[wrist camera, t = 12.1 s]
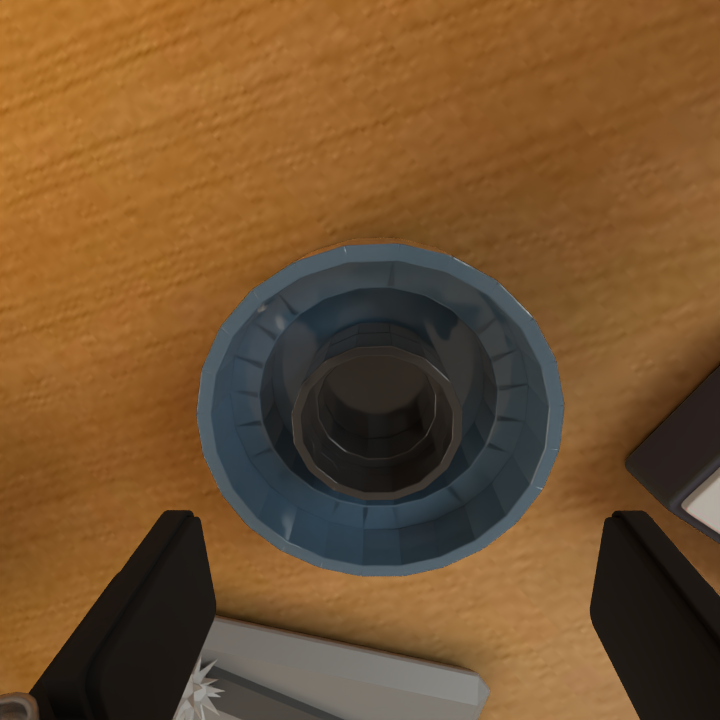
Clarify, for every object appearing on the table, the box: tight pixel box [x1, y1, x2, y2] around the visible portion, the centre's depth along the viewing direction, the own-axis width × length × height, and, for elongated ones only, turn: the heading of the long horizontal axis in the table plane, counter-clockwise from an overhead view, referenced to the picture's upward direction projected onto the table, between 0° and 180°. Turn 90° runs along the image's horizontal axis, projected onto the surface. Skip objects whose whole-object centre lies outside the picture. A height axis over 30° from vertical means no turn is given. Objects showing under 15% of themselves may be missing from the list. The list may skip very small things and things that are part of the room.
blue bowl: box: [196, 237, 564, 576], centre depth 20 cm, size 14×14×6 cm
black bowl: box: [291, 322, 463, 500], centre depth 20 cm, size 7×7×4 cm
